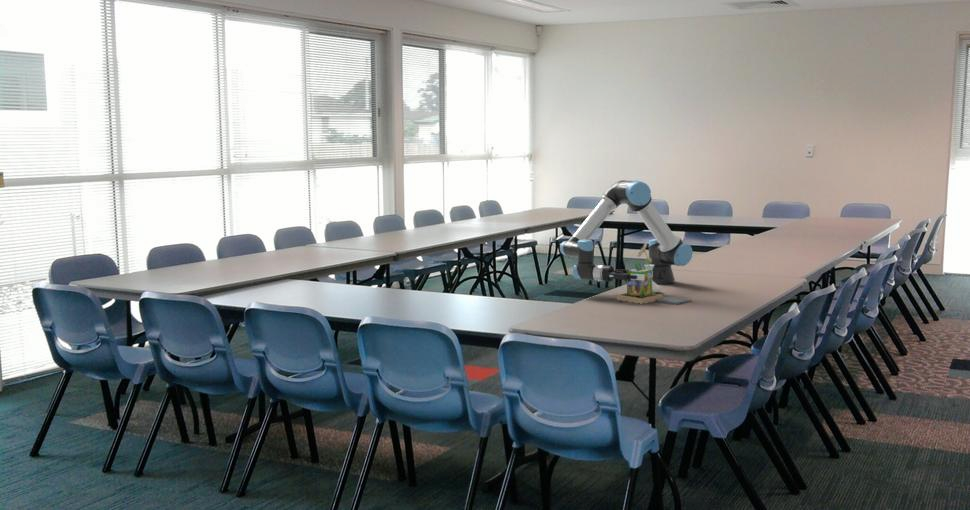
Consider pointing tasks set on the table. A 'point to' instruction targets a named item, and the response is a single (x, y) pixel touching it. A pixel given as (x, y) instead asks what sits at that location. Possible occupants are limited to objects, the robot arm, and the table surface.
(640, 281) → the chalk box
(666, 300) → the charcoal mat
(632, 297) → the light wooden square frame
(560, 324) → the table surface
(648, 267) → the flower in vase
